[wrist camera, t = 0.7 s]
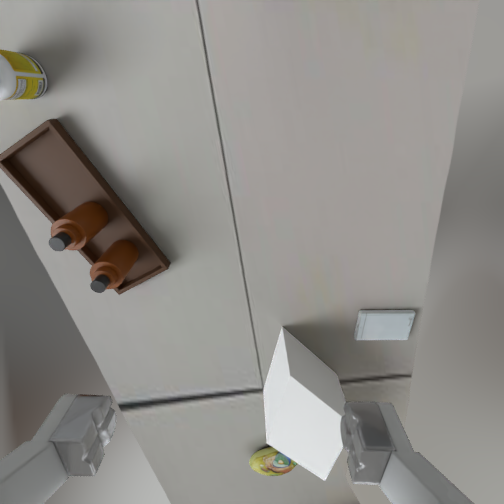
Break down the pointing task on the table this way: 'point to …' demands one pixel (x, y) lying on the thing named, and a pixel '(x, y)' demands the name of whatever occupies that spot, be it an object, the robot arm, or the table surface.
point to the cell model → (271, 462)
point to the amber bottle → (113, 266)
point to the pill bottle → (20, 77)
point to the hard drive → (384, 324)
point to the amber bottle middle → (78, 227)
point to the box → (303, 407)
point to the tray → (78, 195)
